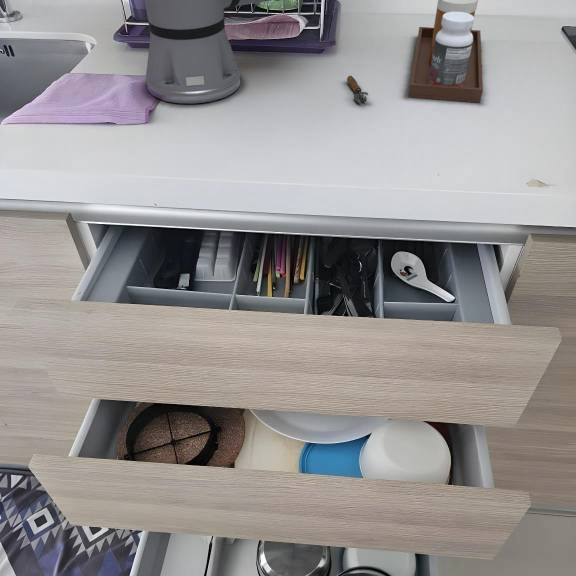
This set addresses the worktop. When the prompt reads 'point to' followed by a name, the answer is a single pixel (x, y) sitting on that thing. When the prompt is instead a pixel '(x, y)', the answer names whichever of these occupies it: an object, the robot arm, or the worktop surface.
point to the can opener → (356, 90)
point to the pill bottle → (452, 50)
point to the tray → (441, 92)
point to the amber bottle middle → (465, 3)
